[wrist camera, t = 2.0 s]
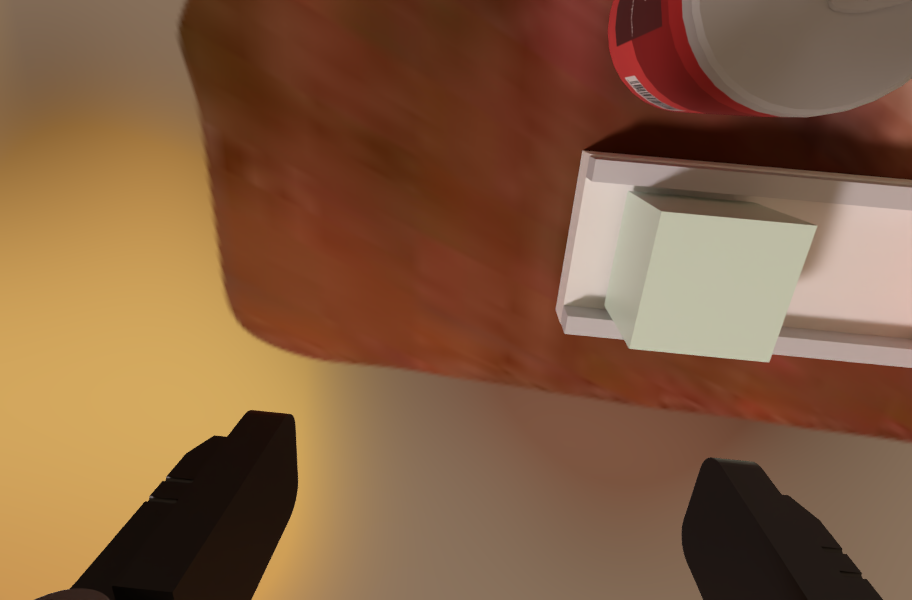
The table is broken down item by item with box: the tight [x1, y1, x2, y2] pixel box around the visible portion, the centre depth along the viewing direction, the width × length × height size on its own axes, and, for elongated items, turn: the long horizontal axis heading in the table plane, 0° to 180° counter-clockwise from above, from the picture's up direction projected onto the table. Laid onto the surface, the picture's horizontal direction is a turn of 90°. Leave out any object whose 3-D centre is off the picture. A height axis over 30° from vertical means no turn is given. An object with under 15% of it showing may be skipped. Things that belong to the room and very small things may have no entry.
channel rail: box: [556, 150, 912, 368], centre depth 23 cm, size 24×9×10 cm, turn 85°
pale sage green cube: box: [604, 191, 817, 362], centre depth 23 cm, size 6×6×5 cm
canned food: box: [608, 0, 912, 117], centre depth 18 cm, size 8×8×11 cm
